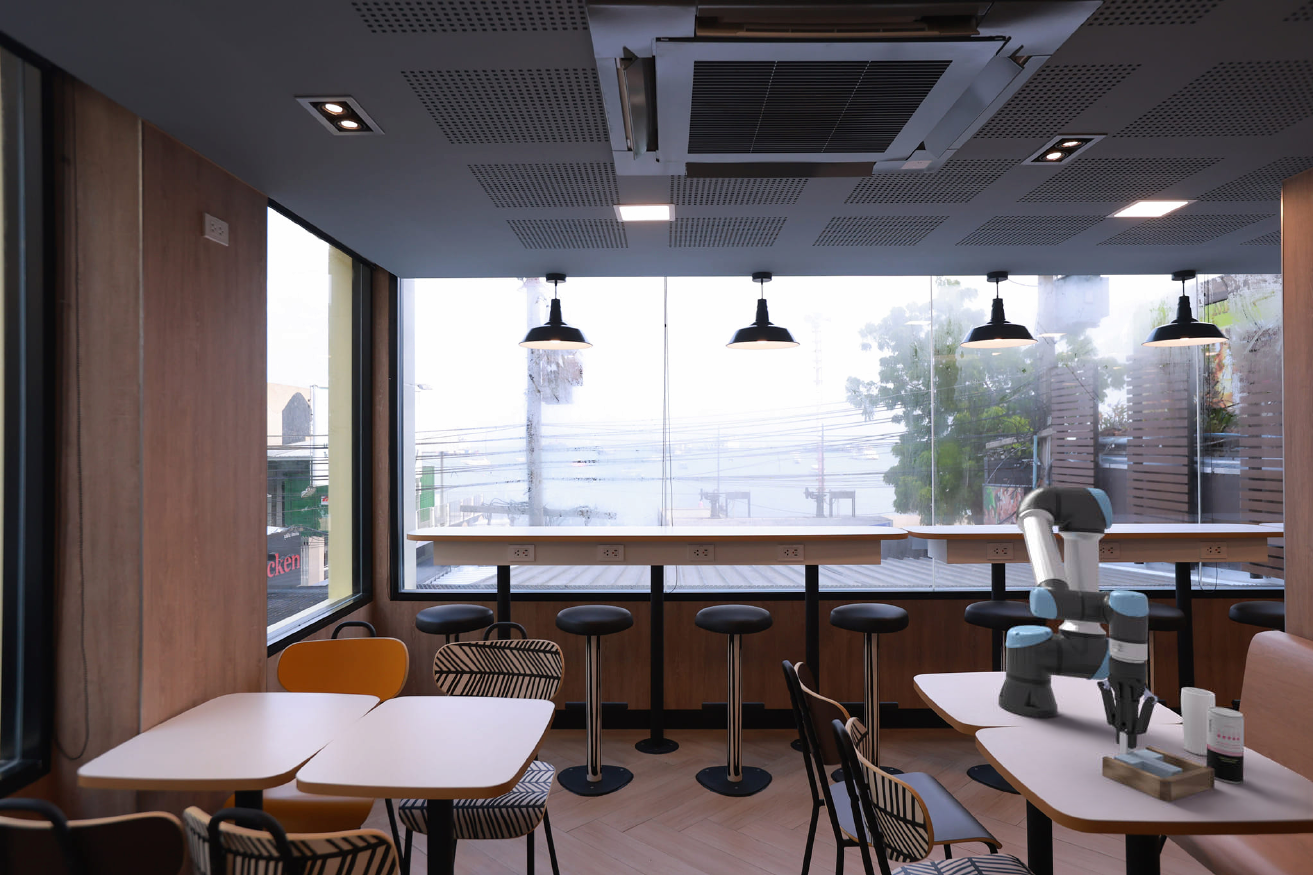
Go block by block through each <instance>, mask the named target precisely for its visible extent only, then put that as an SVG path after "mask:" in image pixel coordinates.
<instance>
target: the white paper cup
mask: <svg viewBox="0 0 1313 875" xmlns="http://www.w3.org/2000/svg"><path fill="white" fill-rule="evenodd" d="M1180 693H1181V694H1180V707H1181V708H1180V709H1181V720H1182V733H1183V748H1184V750H1186V751H1187V752H1189V753H1191V754H1194V755H1197V754H1198V756H1207V711H1208V708H1209V707H1216V694H1215V693H1214V692H1212V691H1209V690H1206V689H1204V688H1202V689H1201V688H1199V687H1198V688H1197V687H1189V686H1188V687H1187V686H1186V687H1182V688H1181V692H1180Z"/></svg>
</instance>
